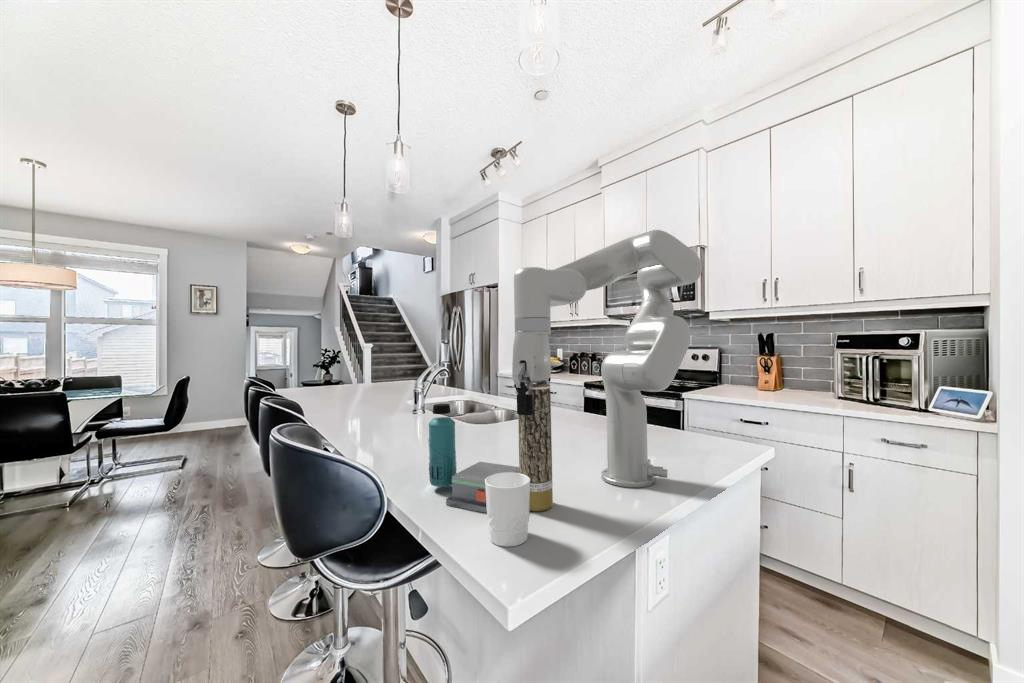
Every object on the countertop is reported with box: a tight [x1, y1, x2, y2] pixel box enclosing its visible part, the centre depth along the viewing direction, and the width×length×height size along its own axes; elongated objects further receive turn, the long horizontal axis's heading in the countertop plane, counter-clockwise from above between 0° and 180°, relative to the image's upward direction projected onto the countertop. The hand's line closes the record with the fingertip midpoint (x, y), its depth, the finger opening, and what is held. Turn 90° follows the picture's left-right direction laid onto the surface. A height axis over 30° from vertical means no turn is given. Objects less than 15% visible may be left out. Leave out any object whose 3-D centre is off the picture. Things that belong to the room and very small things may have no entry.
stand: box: [445, 461, 519, 514], centre depth 85 cm, size 13×13×6 cm
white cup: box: [485, 472, 530, 548], centre depth 67 cm, size 8×8×10 cm
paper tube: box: [517, 383, 554, 512], centre depth 81 cm, size 7×7×25 cm
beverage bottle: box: [428, 403, 458, 488], centre depth 92 cm, size 6×7×20 cm
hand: (534, 410), depth 81 cm, fingers open, 8 cm apart
